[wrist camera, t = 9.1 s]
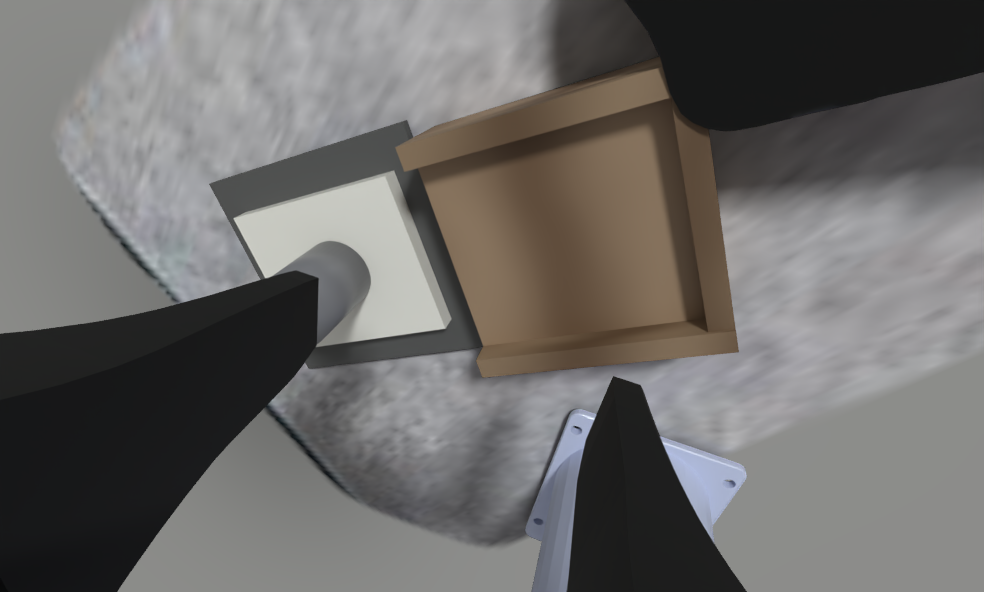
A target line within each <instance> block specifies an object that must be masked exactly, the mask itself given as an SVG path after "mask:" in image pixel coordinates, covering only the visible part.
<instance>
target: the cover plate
mask: <svg viewBox="0 0 984 592" xmlns="http://www.w3.org/2000/svg"><path fill="white" fill-rule="evenodd" d="M233 219H234V221H235V222H236V224H237V226H238V228H239V230H240V232H241V234H242V236H243V237H244V239H245V241H246V243H247V245H248V247H249V249H250V251H251V252H252V254H253V256H254V258H255V260H256V262H257V264H258V266H259V267H260V269H261V271H262V273H263V275H264V277H265V278H268V277H272V276H275V275H279V274H282V273H286V272H290V271H295V270H297V271H300V272H303V273H306V274H309V275H312V276H315V277H318V278H319V287H318V324H317V346H316V347H320V346H327V345H334V344H341V343H348V342H355V341H362V340H369V339H376V338H383V337H390V336H397V335H404V334H411V333H418V332H425V331H432V330H440V329H446V327H447V325H448V324H449V322H450V321H451V316H450V314H449V311H448V309H447V306H446V304H445V301H444V298H443V296H442V293H441V291H440V288H439V285H438V283H437V280H436V278H435V275H434V273H433V270H432V267H431V265H430V262H429V260H428V257H427V254H426V252H425V249H424V247H423V244H422V242H421V239H420V236H419V234H418V231H417V229H416V226H415V223H414V221H413V218H412V216H411V213H410V210H409V208H408V205H407V203H406V200H405V198H404V195H403V192H402V190H401V187H400V185H399V182H398V179H397V177H396V174H395V172H394V171H390V172H387V173H383V174H380V175H376V176H373V177H369V178H365V179H362V180H358V181H355V182H351V183H348V184H344V185H341V186H337V187H334V188H330V189H326V190H323V191H319V192H316V193H312V194H309V195H305V196H302V197H298V198H295V199H291V200H287V201H284V202H280V203H277V204H273V205H270V206H266V207H263V208H259V209H256V210H252V211H248V212H245V213H243V214H241V215H239V216H237V217H235V218H233Z"/></svg>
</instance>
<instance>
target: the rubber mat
mask: <svg viewBox="0 0 984 592" xmlns="http://www.w3.org/2000/svg"><path fill="white" fill-rule="evenodd" d="M412 138H413V136H412V133H411V130H410V127H409V125H408V122H407V120H406V121H403V122H400V123H396V124H393V125H390V126H387V127H384V128H381V129H378V130H375V131H372V132H368V133H365V134H362V135H359V136H356V137H353V138H350V139H347V140H344V141H340V142H337V143H334V144H331V145H328V146H325V147H322V148H319V149H316V150H312V151H309V152H306V153H303V154H300V155H297V156H294V157H291V158H288V159H284V160H281V161H278V162H275V163H272V164H269V165H266V166H263V167H260V168H256V169H253V170H250V171H247V172H244V173H241V174H238V175H235V176H232V177H228V178H225V179H222V180H219V181H216V182H213V183H211V184H209V185H210V186H211V188H212V190H213V192H214V194H215V196H216V198H217V199H218V201H219V203H220V205H221V207H222V209H223V211H224V212H225V214H226V216H227V218H228V220H229V222H230V224H231V225H232V227H233V229H234V231H235V233H236V235H237V237H238V238H239V240H240V242H241V244H242V246H243V248H244V250H245V251H246V253H247V255H248V257H249V259H250V261H251V263H252V264H253V266H254V268H255V270H256V272H257V274H258V276H259V277H260V279H261V280H262V279H265V277H264V275H263V273H262V271H261V269H260V267H259V266H258V264H257V262H256V260H255V258H254V256H253V254H252V252H251V251H250V249H249V247H248V245H247V243H246V241H245V239H244V237H243V236H242V234H241V232H240V230H239V228H238V226H237V224H236V222H235V221H234V219H233V218H235V217H237V216H239V215H241V214H243V213H245V212H248V211H252V210H256V209H259V208H263V207H266V206H270V205H273V204H277V203H280V202H284V201H287V200H291V199H295V198H298V197H302V196H305V195H309V194H312V193H316V192H319V191H323V190H326V189H330V188H334V187H337V186H341V185H344V184H348V183H351V182H355V181H358V180H362V179H365V178H369V177H373V176H376V175H380V174H383V173H387V172H390V171H394V172H395V174H396V177H397V179H398V182H399V185H400V187H401V190H402V192H403V195H404V198H405V200H406V203H407V205H408V208H409V210H410V213H411V216H412V218H413V221H414V223H415V226H416V229H417V231H418V234H419V236H420V239H421V242H422V244H423V247H424V249H425V252H426V254H427V257H428V260H429V262H430V265H431V267H432V270H433V273H434V275H435V278H436V280H437V283H438V285H439V288H440V291H441V293H442V296H443V298H444V301H445V304H446V306H447V309H448V311H449V314H450V316H451V321H450V322H449V324H448V325H447V327H446V329H440V330H432V331H425V332H418V333H411V334H404V335H397V336H390V337H383V338H376V339H369V340H362V341H355V342H348V343H341V344H334V345H327V346H320V347H315V349H314V350H313V351H312V353H311V354H310V356H309V357H308V359H307V360H306V361H305V363H306V365H307V366H308V368H309V369H310V368H318V367H326V366H334V365H342V364H350V363H358V362H366V361H374V360H383V359H391V358H399V357H407V356H415V355H423V354H431V353H439V352H447V351H455V350H463V349H471V348H479V347H483V344H482V341H481V338H480V336H479V333H478V330H477V327H476V325H475V322H474V319H473V317H472V314H471V311H470V308H469V306H468V303H467V300H466V298H465V295H464V292H463V289H462V287H461V284H460V281H459V278H458V276H457V273H456V270H455V268H454V265H453V262H452V259H451V257H450V254H449V251H448V249H447V246H446V243H445V240H444V238H443V235H442V232H441V230H440V227H439V224H438V221H437V219H436V216H435V213H434V211H433V208H432V205H431V202H430V200H429V197H428V194H427V191H426V189H425V186H424V183H423V181H422V178H421V175H420V172H419V170H418V168H417V169H413V170H409V171H406V172H404V169H403V167H402V164H401V162H400V159H399V156H398V154H397V151H396V148H395V147H397V146H399V145H401V144H403V143H404V142H406V141H408V140H410V139H412Z"/></svg>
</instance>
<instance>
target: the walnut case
mask: <svg viewBox="0 0 984 592" xmlns="http://www.w3.org/2000/svg"><path fill="white" fill-rule="evenodd" d="M395 148H396V151H397V154H398V156H399V159H400V162H401V164H402V167H403V169H404V172H406V171H409V170H413V169H417V168H418V170H419V172H420V175H421V178H422V181H423V183H424V186H425V189H426V191H427V194H428V197H429V200H430V202H431V205H432V208H433V211H434V213H435V216H436V219H437V221H438V224H439V227H440V230H441V232H442V235H443V238H444V240H445V243H446V246H447V249H448V251H449V254H450V257H451V259H452V262H453V265H454V268H455V270H456V273H457V276H458V278H459V281H460V284H461V287H462V289H463V292H464V295H465V298H466V300H467V303H468V306H469V308H470V311H471V314H472V317H473V319H474V322H475V325H476V327H477V330H478V333H479V336H480V338H481V341H482V344H483V348H482V350H481V352H480V354H479V356H478V358H477V360H476V362H477V365H478V367H479V370H480V372H481V375H482V378H484V377H494V376H504V375H514V374H524V373H534V372H544V371H554V370H564V369H574V368H584V367H594V366H604V365H614V364H624V363H634V362H644V361H654V360H664V359H674V358H685V357H695V356H705V355H715V354H725V353H735V352H739V350H738V343H737V336H736V330H735V322H734V315H733V307H732V300H731V293H730V285H729V278H728V270H727V263H726V255H725V248H724V241H723V233H722V226H721V218H720V211H719V204H718V196H717V189H716V181H715V174H714V166H713V159H712V152H711V144H710V137H709V129H706V128H704V127H701V126H699V125H697V124H694V123H692V122H691V121H690V120H688V119H687V118H686V117H685V116H683V115H682V114H681V113H680V111H679V109H678V107H677V105H676V104H675V102H674V100H673V98H672V96H671V94H670V92H669V88H668V85H667V81H666V78H665V74H664V70H663V67H662V63H661V59H660V57H657V58H653V59H650V60H647V61H644V62H641V63H637V64H634V65H631V66H628V67H624V68H621V69H618V70H615V71H611V72H608V73H605V74H602V75H598V76H595V77H592V78H589V79H586V80H582V81H579V82H576V83H573V84H569V85H566V86H563V87H560V88H556V89H553V90H550V91H547V92H544V93H540V94H537V95H534V96H531V97H527V98H524V99H521V100H518V101H514V102H511V103H508V104H505V105H502V106H498V107H495V108H492V109H489V110H485V111H482V112H479V113H476V114H472V115H469V116H466V117H463V118H459V119H456V120H453V121H450V122H447V123H443V124H440V125H437V126H434V127H432V128H430V129H428V130H427V131H425V132H423V133H421V134H419V135H417V136H415V137H414V138H412V139H410V140H408V141H406V142H404V143H403V144H401V145H399V146H397V147H395Z"/></svg>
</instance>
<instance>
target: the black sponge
mask: <svg viewBox="0 0 984 592" xmlns="http://www.w3.org/2000/svg"><path fill="white" fill-rule="evenodd" d="M625 1H626V3H627V4H628V5H629V7H630V8H631V9H632V11H633V12H634V14H635V15H636V16H637V18H638V19H639V20H640V22H641V23H642V24H643V26H644V27H645V28H646V30H647V31H648V33H649V35H650V37H651V39H652V41H653V44H654V46H655V48H656V50H657V52H658V54H659V56H660V59H661V63H662V67H663V70H664V74H665V78H666V81H667V85H668V88H669V92H670V94H671V96H672V98H673V100H674V102H675V104H676V105H677V107H678V109H679V111H680V113H681V114H682V115H683V116H685V117H686V118H687V119H688V120H690V121H691V122H692V123H694V124H697V125H699V126H701V127H704V128H706V129H712V130H719V131H736V130H741V129H746V128H751V127H757V126H762V125H766V124H770V123H774V122H778V121H782V120H786V119H791V118H795V117H799V116H803V115H807V114H811V113H816V112H820V111H825V110H830V109H834V108H839V107H843V106H848V105H852V104H857V103H862V102H866V101H869V100H872V99H875V98H878V97H881V96H886V95H890V94H895V93H899V92H903V91H908V90H912V89H916V88H921V87H925V86H929V85H934V84H938V83H943V82H947V81H951V80H954V79H958V78H962V77H966V76H970V75H974V74H978V73H982V72H984V0H625Z"/></svg>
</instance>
